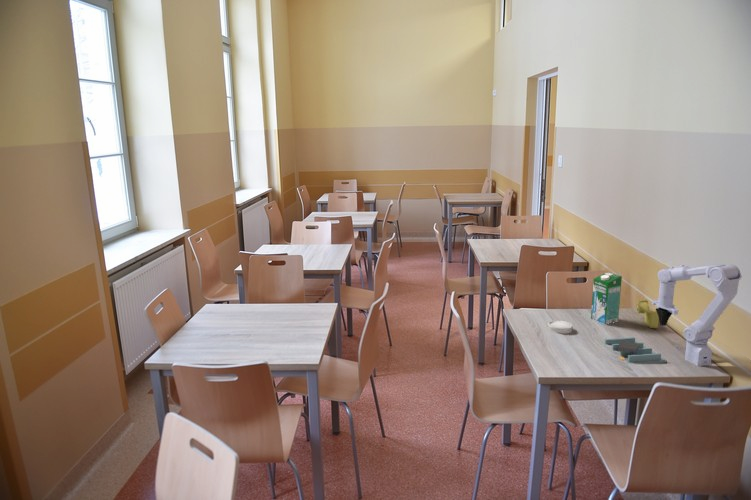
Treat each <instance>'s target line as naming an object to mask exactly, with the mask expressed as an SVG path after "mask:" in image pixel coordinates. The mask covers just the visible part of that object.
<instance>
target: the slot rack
mask: <svg viewBox="0 0 751 500" xmlns="http://www.w3.org/2000/svg"><path fill="white" fill-rule="evenodd" d="M621 340H622V341H628V342H634V343H639V345H638V350H637V353H636V354H632V353H626V352H621V351H619V356H618V359H620V360H621V361H626V363H627V364H651V363H652V364H653V363H654V364H658V363H659V364H662V363H667V359H665V358H664V357H662V354H661V353H660V352H659V353H656V352H654V351H653V347H646V346H645V344H644V342H638V341H637V340H636V337H619V338H618V337H617V338H616V337H615V338H605V339H604V344H605V345H611V349H612V351H618V346H619V343H620V341H621ZM624 356H625V358H624Z"/></svg>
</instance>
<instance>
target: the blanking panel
mask: <svg viewBox="0 0 751 500" xmlns="http://www.w3.org/2000/svg"><path fill="white" fill-rule="evenodd" d="M639 343H640V342H638V343H634V342H628V341H622V340H621V341H620V343H619V346H618V350H617V351H618V352H620V351H621V352H626V353H632V354H636V353H637V350H638V345H639Z"/></svg>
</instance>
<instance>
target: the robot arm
mask: <svg viewBox="0 0 751 500" xmlns="http://www.w3.org/2000/svg"><path fill="white" fill-rule="evenodd" d="M695 276H706V278H707V279H709V278H710V281H711V283H712V284H713V285H714V287H715V288H716V290H717V291H718V292H717V294H716V295H715V296H714V298H712V300H711V302H710V303H709V304H708V306H707V307H706V308H705V310H704V311H703V312H702V314H701V315H700V317H699V318H698V319H697V320H696V321H694V322H692V323H691V324H690V325H689V326H687V327H686V328H684V330H683V332H682V334H683V338H684V339H685V341H686V344H685V345H686V346H685V353H684V360H686V361H687V362H689V363H690V364H691V363H692V364H693V365H695V366H697V367H701V366H709V367H713V364H712V358H713V357H712V356H713V349H712V348H711V347H710V346H709V345H708V342H709V339H711V338H712V337H713V332H714V330H715V326H714V324H715V323H716V322H717V321H718V320H719V318H720V317H721V315H722V314H723V313H724V311H725V310H726V309H727V308H728V306H729V305H730V304H731V302H732V301H733V300H734V299H735V297H736V296H737V294H738V287H739V283H740V280H741V279H742V273H741V270H740V269H739V267H738V266H737V265H735V264H732V263H731V264H727V265H726V264H711V265H704V266H698V267H693V268H691V267H690V266H688V265H685V264H681V265H679V266H677V267H674V266H671V267H669V268H662V269H660V270H658V272H657V278H658V281H659V287H658V288H659V290H658V298H657V299H652V303H651V305H653V306H656V307H658V308H655V311H656V312H657V314H658V317H659V322H658V323H659V325H660V326H667V324H668V321H669V319H670V318H671V316H672V315H675V316H676V315H679V310H678V309H677V308H676V307H675V304H674V295H675V285H676V284H677V282H680V281H688V280H691V279H692V277H695Z"/></svg>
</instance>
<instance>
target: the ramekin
mask: <svg viewBox="0 0 751 500" xmlns="http://www.w3.org/2000/svg"><path fill="white" fill-rule="evenodd" d="M547 327H548V329H549V331H551V332H554V333H556V334H571V333H572V330H573V327H574V325H573V324H572V323H571V322H569V321H565V320H552V321H548V322H547Z"/></svg>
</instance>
